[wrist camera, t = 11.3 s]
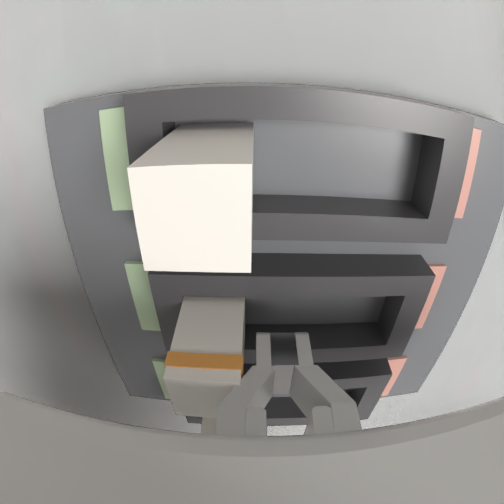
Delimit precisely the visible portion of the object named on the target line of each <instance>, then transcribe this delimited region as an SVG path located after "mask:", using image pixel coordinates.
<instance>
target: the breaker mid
mask: <svg viewBox="0 0 504 504" xmlns="http://www.w3.org/2000/svg"><path fill="white" fill-rule="evenodd" d="M244 344H245V298H231V297H192V296H184V298H183V302H182V306H181V309H180V313H179V317H178V321H177V324H176V328H175V332H174V336H173V340H172V344H171V348H170V351H168V352H167V356H166V360H165V364H164V366H165V372H164V377H163V379H164V382H165V385H166V388H167V391H168V394H169V397H170V399H171V402H172V405H173V408H174V410H175V413H176V415H183V416H194V417H209V418H217V416H218V406H219V404H220V403H221V402H222V401H223V400H224V399H225V397H226V396H227V395H228V394H229V393H230V392H231V390H232V389H233V388H234V387H235V386H236V385H241V379H242V377H243V376H244V372H243V371H244Z"/></svg>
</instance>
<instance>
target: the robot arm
mask: <svg viewBox="0 0 504 504" xmlns="http://www.w3.org/2000/svg"><path fill="white" fill-rule="evenodd" d="M273 394H289V395H290V396H291V398H292V399H293V400H294V402H295V403H296V404H297V406H298V407H299V408H300V410H301V411H302V412H303V414H304V415H305V416H306V418H307V419H308V423H307V426H306V429H305V432H304V435H292V436H267V421H266V410H265V409H264V408H265V406H266V405H267V403H268V402H269V400H270V399H271V397H272V396H273ZM0 504H504V397H502V398H499V399H496V400H493V401H490V402H487V403H484V404H480V405H477V406H474V407H470V408H467V409H463V410H460V411H456V412H452V413H448V414H444V415H440V416H436V417H431V418H427V419H422V420H418V421H413V422H407V423H402V424H397V425H391V426H385V427H378V428H371V429H364V430H362V428H361V424H360V419H359V414H358V410H357V405H356V402H355V401H354V400H353V399H352V398H351V397H350V396H349V395H348V394H347V393H346V392H345V391H344V390H343V389H342V388H340V387H339V386H338V385H337V384H336V383H335V382H334V381H333V380H332V379H331V378H330V377H329V376H328V375H327V374H326V373H325V372H324V371H323V370H322V369H321V368H320V367H319V366H318V365H314V364H313V358H312V352H311V345H310V339H309V334H308V333H307V332H296V333H271V332H270V333H263V332H257V333H256V357H255V366H252V367H251V368H250V369H249V370H248V372H247V373H246V374H245V375H244V376H243V377H242V379H241V385H236V386H235V387H234V388H233V389H232V390H231V392H230V393H229V394H228V395H227V396H226V397H225V399H224V400H223V401H222V402H221V403H220V404H219V406H218V416H217V427H216V435H211V434H197V433H186V432H176V431H168V430H159V429H152V428H145V427H139V426H132V425H127V424H121V423H116V422H110V421H106V420H101V419H96V418H92V417H87V416H83V415H79V414H75V413H71V412H67V411H63V410H59V409H56V408H52V407H49V406H45V405H42V404H39V403H36V402H32V401H29V400H26V399H23V398H20V397H18V396H15V395H12V394H9V393H6V392H0Z"/></svg>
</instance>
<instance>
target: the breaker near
mask: <svg viewBox="0 0 504 504" xmlns="http://www.w3.org/2000/svg"><path fill="white" fill-rule="evenodd" d="M253 132H254V123H198V124H181V125H180V126H179V127H177V128H176V129H175V130H173V131H172V132H171V133H169V134H168V135H167V136H165V137H164V138H163V139H162V140H160V141H159V142H158V143H157V144H155V145H154V146H153V147H152V148H150V149H149V150H148V151H147V152H145V153H144V154H143V155H142V156H141V157H139V158H138V159H137V160H136V161H135V162H133V163H132V164H131V165H130V166H129V167H127V171H128V179H129V186H130V193H131V199H132V206H133V212H134V218H135V224H136V229H137V235H138V240H139V246H140V251H141V256H142V261H143V266H144V270H145V271H176V272H227V273H251V258H252V212H253Z"/></svg>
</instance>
